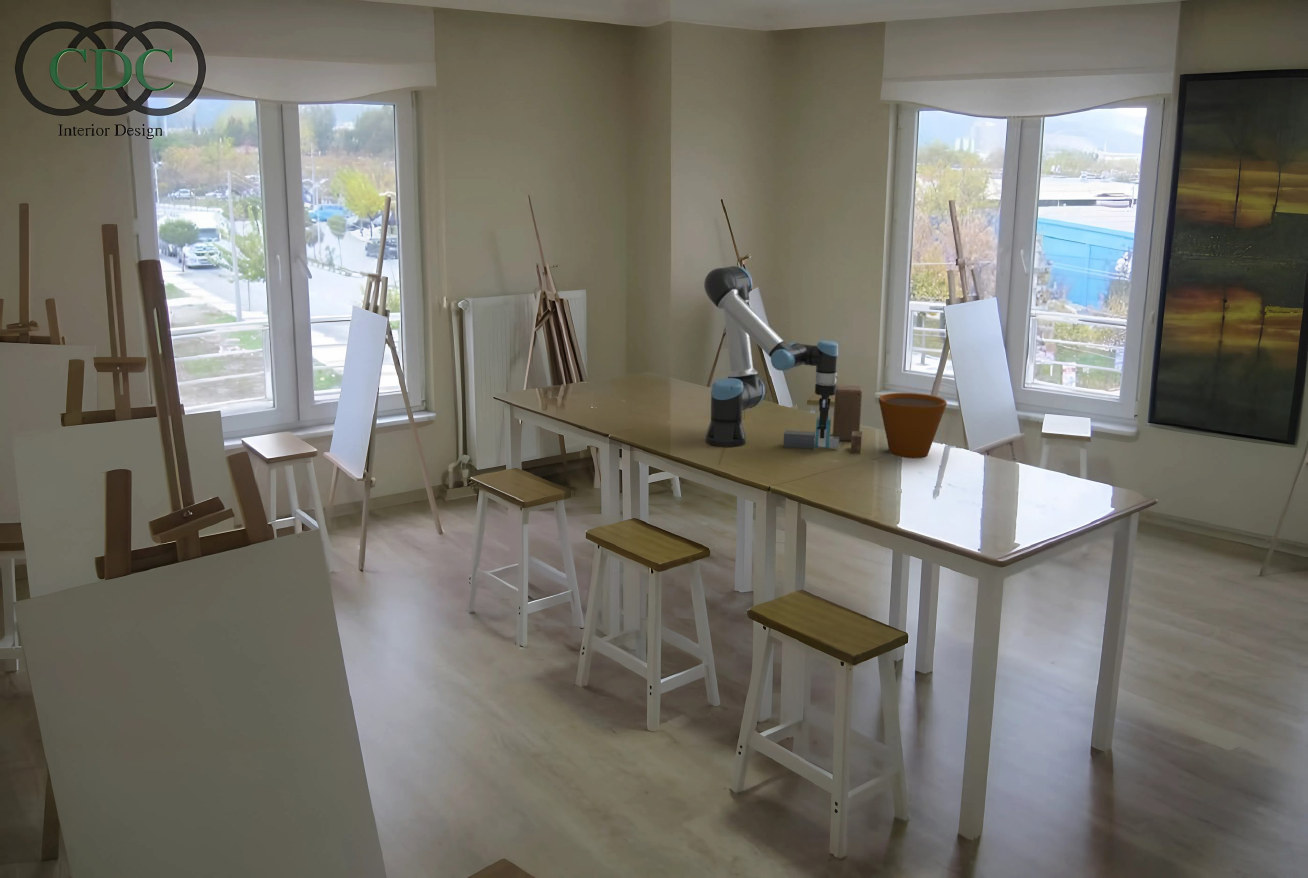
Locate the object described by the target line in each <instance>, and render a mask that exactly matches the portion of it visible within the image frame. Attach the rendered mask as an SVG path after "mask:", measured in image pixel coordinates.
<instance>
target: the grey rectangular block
mask: <svg viewBox="0 0 1308 878" xmlns="http://www.w3.org/2000/svg"><path fill="white" fill-rule="evenodd" d="M815 435H816V431H807V430H806V431H805V430H804V431H803V430H791V429H790V430H789V429H785V430H784V433H783V445H782V446H783V449H790V450H791V449H796V450H805V451H806V450H809V451H813V450H814V449H815V447H814V436H815Z"/></svg>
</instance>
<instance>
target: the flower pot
mask: <svg viewBox="0 0 1308 878" xmlns="http://www.w3.org/2000/svg"><path fill="white" fill-rule="evenodd" d="M878 403H879V407H880V412H881V417H882V422H883V423H882V424H883V426H884V431H885V436H886V437H885V438H886V440H887V441H886V442H887V446H888V451H889V454H891V455H893V456H896V457H900V458H906V459H923V458H927V457H928V456H929V452H930V450H931V447H932V445H933V442H934V439H935V437H936V434H937V432H938V428H939V426H940V423H941V420H942V417H943V416H944V415H943V414H944V412H945V410H946V406H947V401H946V400H945V399H944V398H942V397H940V396H935V395H930V394H925V393H916V392H915V393H913V392H894V393H887V394H886V393H885V394H882V395H880V396H879V398H878Z"/></svg>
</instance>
